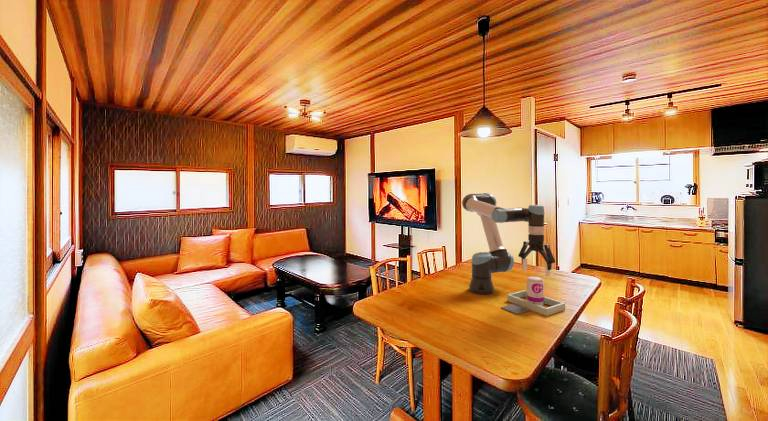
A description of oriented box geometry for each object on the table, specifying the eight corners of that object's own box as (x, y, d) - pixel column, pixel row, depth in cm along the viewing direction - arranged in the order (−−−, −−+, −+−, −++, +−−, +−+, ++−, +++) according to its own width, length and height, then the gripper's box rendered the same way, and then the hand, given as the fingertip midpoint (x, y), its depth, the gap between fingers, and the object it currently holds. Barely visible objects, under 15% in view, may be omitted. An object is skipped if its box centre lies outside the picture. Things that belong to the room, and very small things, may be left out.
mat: (501, 308, 162) (501, 307, 162) (514, 304, 166) (514, 303, 166) (517, 314, 153) (517, 313, 153) (530, 310, 157) (530, 309, 157)
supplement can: (545, 308, 160) (546, 280, 159) (528, 307, 162) (529, 280, 161) (540, 302, 168) (541, 276, 167) (524, 301, 170) (525, 275, 169)
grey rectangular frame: (507, 300, 172) (507, 294, 172) (524, 295, 179) (524, 290, 179) (546, 315, 151) (546, 309, 151) (565, 309, 158) (565, 303, 158)
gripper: (511, 231, 172) (511, 268, 173) (554, 237, 150) (553, 279, 151) (520, 230, 175) (520, 267, 176) (563, 235, 153) (562, 277, 154)
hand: (535, 272), depth 164 cm, fingers open, 13 cm apart
